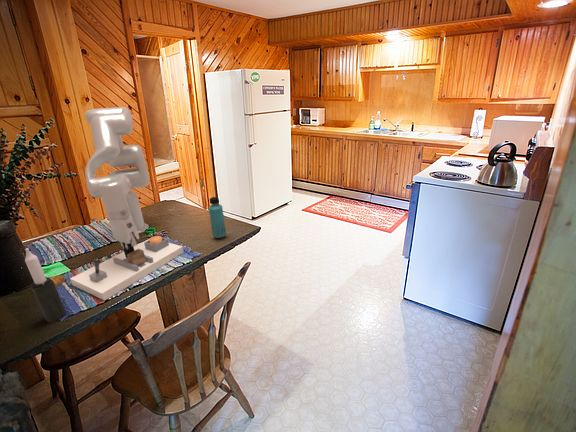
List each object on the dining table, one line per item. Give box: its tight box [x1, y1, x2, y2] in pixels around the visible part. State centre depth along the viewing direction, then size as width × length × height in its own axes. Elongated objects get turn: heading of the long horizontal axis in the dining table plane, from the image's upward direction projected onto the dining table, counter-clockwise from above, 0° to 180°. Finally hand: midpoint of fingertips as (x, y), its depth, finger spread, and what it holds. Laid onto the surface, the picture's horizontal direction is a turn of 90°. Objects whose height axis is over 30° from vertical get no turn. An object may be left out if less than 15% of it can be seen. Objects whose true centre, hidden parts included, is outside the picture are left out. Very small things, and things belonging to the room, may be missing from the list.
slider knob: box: [127, 249, 146, 266], centre depth 120 cm, size 3×5×5 cm, turn 151°
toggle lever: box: [93, 258, 101, 274], centre depth 110 cm, size 2×2×7 cm
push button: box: [148, 235, 163, 245], centre depth 133 cm, size 5×5×4 cm
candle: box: [24, 247, 67, 324], centre depth 94 cm, size 5×5×25 cm
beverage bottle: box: [208, 196, 227, 239], centre depth 142 cm, size 6×7×20 cm
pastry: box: [48, 274, 66, 288], centre depth 114 cm, size 9×7×4 cm
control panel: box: [70, 237, 184, 302], centre depth 123 cm, size 20×36×6 cm, turn 151°
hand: (130, 256), depth 122 cm, fingers closed
